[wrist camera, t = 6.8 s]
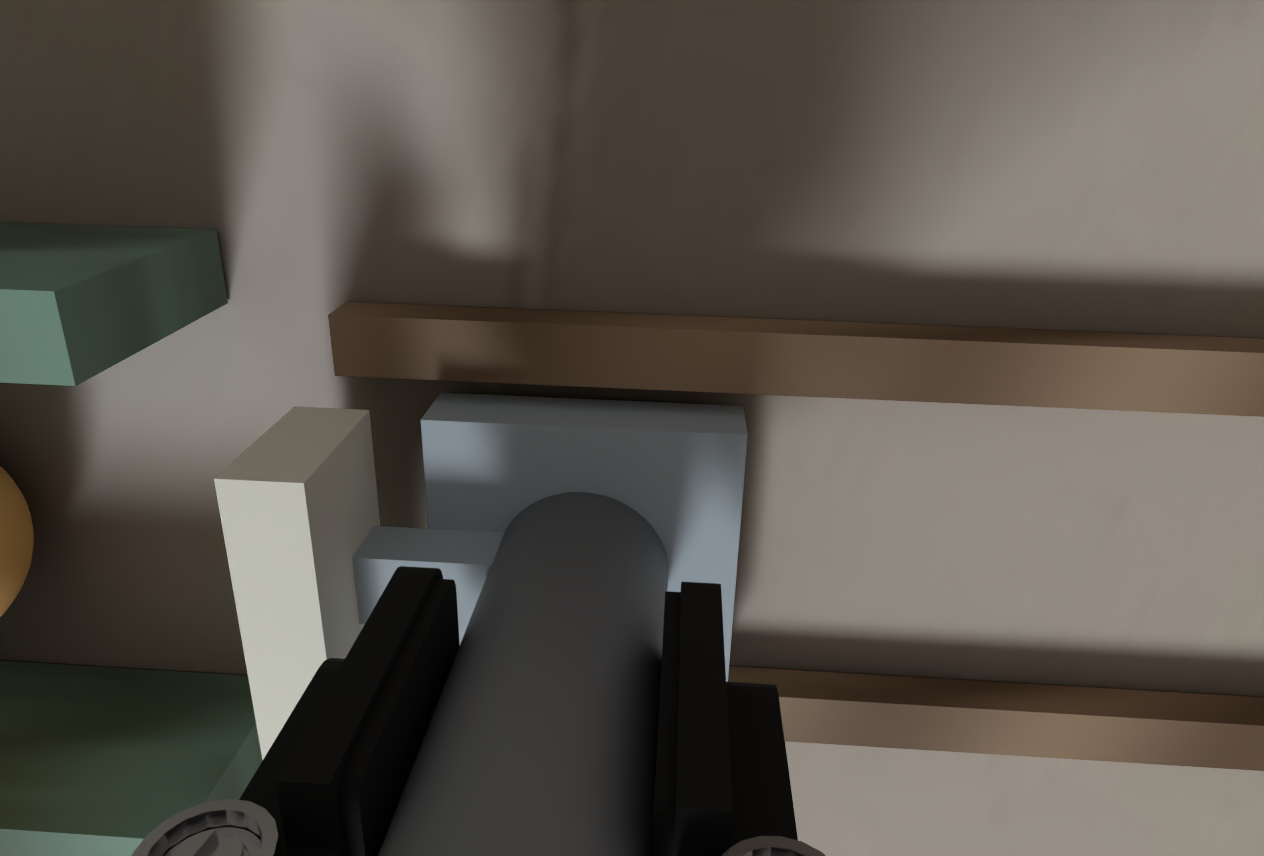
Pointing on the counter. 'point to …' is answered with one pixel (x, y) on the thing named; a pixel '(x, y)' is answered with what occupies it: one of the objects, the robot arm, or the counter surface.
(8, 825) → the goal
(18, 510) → the ball
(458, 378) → the track
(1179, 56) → the counter surface
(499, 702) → the kicker
